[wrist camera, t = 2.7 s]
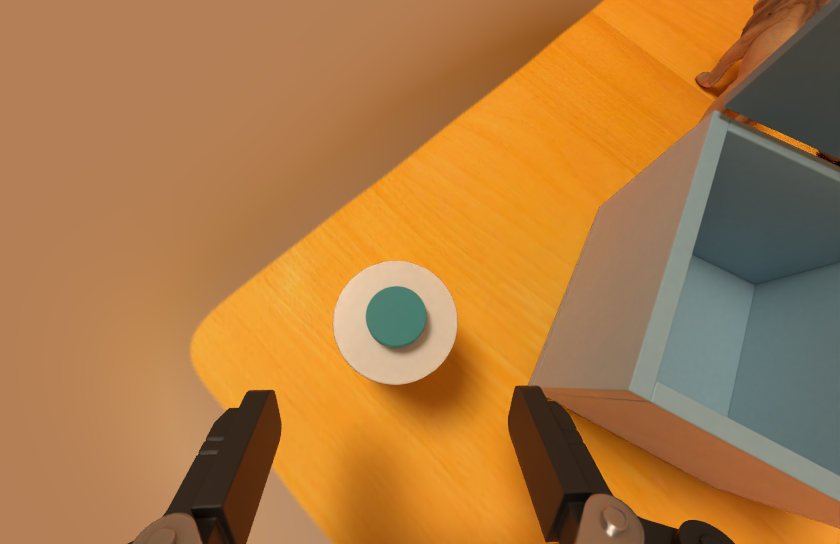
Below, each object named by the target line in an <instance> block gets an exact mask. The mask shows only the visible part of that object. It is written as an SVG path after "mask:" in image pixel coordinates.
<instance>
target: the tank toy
mask: <svg viewBox="0 0 840 544" xmlns="http://www.w3.org/2000/svg"><path fill="white" fill-rule="evenodd" d="M818 152H820V153H821V154H823V155H824V156H825V157H827V158H828V159H830V160H831V161H834V160H835V161H840V159H838V158H836V157H833V156H831V155H829V154H827V153H824V152H822V151H820V150H819V151H818Z"/></svg>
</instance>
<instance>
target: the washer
mask: <svg viewBox="0 0 840 544" xmlns="http://www.w3.org/2000/svg"><path fill="white" fill-rule="evenodd" d="M530 385H538V386H540V387H541V389H542V391H543V393H544V395H545V397H547V398H549V399H551V400H553V401H556V402H557V403H558V404H560V405H562V406H564V407H566V408H568V409H569V410H571V411H573V412H575V413H577V414H579V415H580V416H582V417H584V418H586V419H588V420H590V421H592V422H593V423H595V424H597V425H599V426H601V427H603V428H605V429H606V430H608V431H610V432H612V433H614V434H616V435H617V436H619V437H621V438H623V439H625V440H627V441H629V442H630V443H632V444H634V445H636V446H638V447H640V448H642V449H643V450H645V451H647V452H649V453H651V454H653V455H654V456H656V457H658V458H660V459H662V460H664V461H666V462H667V463H669V464H671V465H673V466H675V467H677V468H678V469H680V470H682V471H684V472H686V473H688V474H690V475H691V476H693V477H695V478H697V479H699V480H701V481H703V482H704V483H706V484H708V485H710V486H712V487H714V488H717V489H720V490H723V491H726V492H729V493H732V494H735V495H738V496H741V497H744V498H748V499H751V500H754V501H757V502H760V503H763V504H766V505H769V506H772V507H775V508H778V509H781V510H784V511H787V512H790V513H793V514H796V515H799V516H802V517H806V518H809V519H812V520H815V521H818V522H821V523H824V524H827V525H830V526H833V527H836V528H839V529H840V167H839V166H837V165H834V164H832V163H830V162H828V161H826V160H823V159H821V158H819V157H817V156H815V155H812V154H810V153H808V152H806V151H804V150H801V149H799V148H797V147H795V146H793V145H790V144H788V143H786V142H784V141H782V140H779V139H777V138H775V137H773V136H771V135H768V134H766V133H764V132H762V131H760V130H757V129H755V128H753V127H751V126H749V125H746V124H744V123H742V122H740V121H738V120H735V119H733V118H731V117H730V116H728V115H725V114H723V113H721V112H719V111H717V110H714V111H713V112H712V113H710V114H709V115H708V116H707V117H706V118H705V119H703V120H702V121H701V122H700V123H699V124H697V125H696V126H695V127H694V128H693V129H692V130H690V131H689V132H688V133H687V134H686V135H684V136H683V137H682V138H681V139H680V140H678V141H677V142H676V143H675V144H674V145H673V146H671V147H670V148H669V149H668V150H667V151H665V152H664V153H663V154H662V155H661V156H660V157H658V158H657V159H656V160H655V161H654V162H652V163H651V164H650V165H649V166H648V167H646V168H645V169H644V170H643V171H642V172H641V173H639V174H638V175H637V176H636V177H635V178H633V179H632V180H631V181H630V182H629V183H628V184H626V185H625V186H624V187H623V188H622V189H620V190H619V191H618V192H617V193H616V194H614V195H613V196H612V197H611V198H610V199H609V200H607V201H606V202H605V203H604V204H603V205H601V206H600V207H599V209H598V212H597V214H596V217H595V219H594V222H593V224H592V227H591V229H590V232H589V234H588V237H587V239H586V242H585V244H584V247H583V249H582V252H581V254H580V257H579V259H578V262H577V264H576V267H575V269H574V272H573V274H572V277H571V279H570V282H569V284H568V287H567V289H566V292H565V294H564V297H563V299H562V302H561V304H560V307H559V309H558V312H557V314H556V317H555V319H554V322H553V324H552V327H551V329H550V332H549V334H548V337H547V339H546V342H545V344H544V347H543V349H542V352H541V354H540V357H539V359H538V362H537V364H536V367H535V369H534V372H533V374H532V377H531V379H530V382H529V384H528V386H530Z"/></svg>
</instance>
